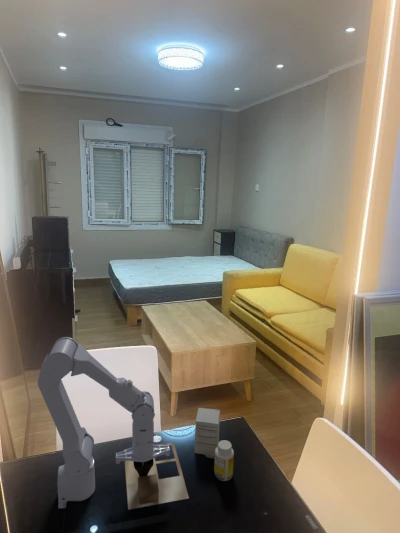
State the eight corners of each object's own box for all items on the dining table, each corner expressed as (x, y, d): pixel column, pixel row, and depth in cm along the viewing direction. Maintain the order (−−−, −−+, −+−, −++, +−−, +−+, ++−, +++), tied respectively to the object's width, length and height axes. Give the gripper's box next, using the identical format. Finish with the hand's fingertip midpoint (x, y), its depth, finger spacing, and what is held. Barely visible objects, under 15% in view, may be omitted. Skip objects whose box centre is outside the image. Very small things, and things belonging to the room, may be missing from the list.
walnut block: (139, 504, 94) (139, 492, 93) (137, 489, 99) (137, 477, 98) (158, 501, 95) (158, 488, 95) (156, 486, 100) (156, 474, 99)
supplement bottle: (230, 467, 110) (232, 437, 107) (234, 481, 104) (236, 451, 102) (212, 467, 109) (214, 438, 107) (215, 482, 104) (216, 452, 101)
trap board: (128, 513, 93) (128, 509, 93) (123, 452, 114) (123, 449, 113) (188, 501, 97) (188, 498, 97) (173, 445, 118) (174, 442, 117)
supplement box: (197, 440, 120) (198, 406, 118) (219, 443, 120) (221, 409, 117) (193, 456, 113) (194, 421, 111) (217, 459, 112) (219, 424, 110)
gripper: (167, 424, 103) (166, 465, 106) (115, 431, 100) (115, 473, 103) (171, 441, 97) (170, 483, 100) (115, 449, 93) (116, 493, 96)
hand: (143, 479), depth 101 cm, fingers closed, pressing on walnut block
